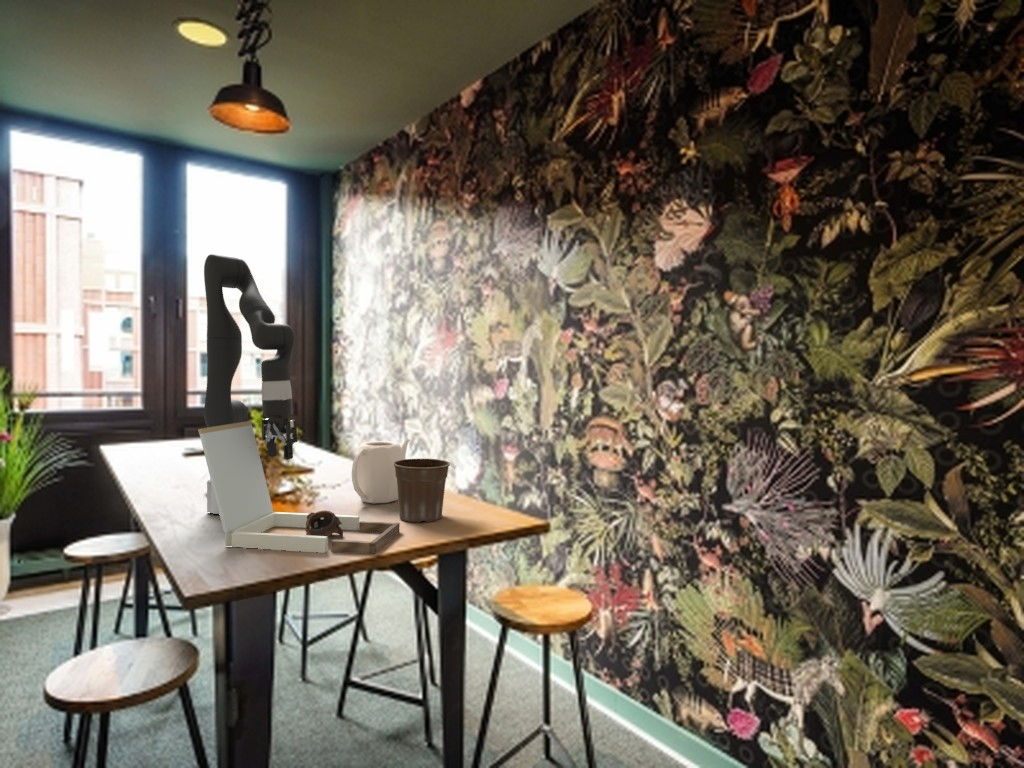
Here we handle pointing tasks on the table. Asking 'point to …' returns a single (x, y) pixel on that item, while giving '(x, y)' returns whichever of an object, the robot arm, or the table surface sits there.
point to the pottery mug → (323, 524)
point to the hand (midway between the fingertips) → (280, 457)
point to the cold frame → (252, 494)
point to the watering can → (377, 470)
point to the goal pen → (366, 546)
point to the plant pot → (421, 488)
